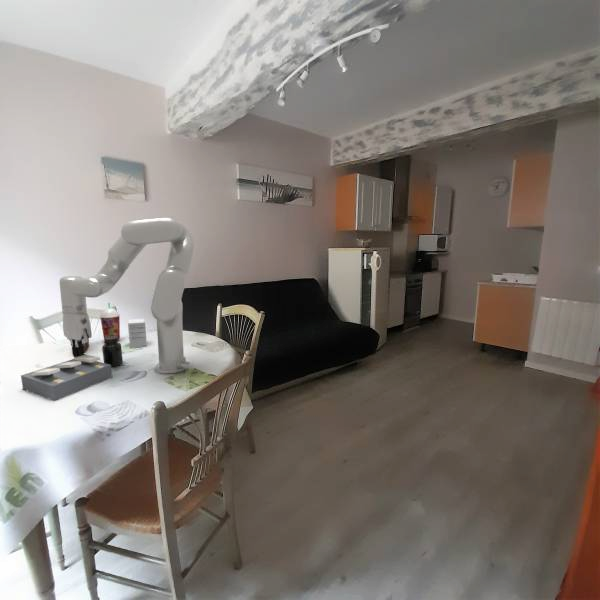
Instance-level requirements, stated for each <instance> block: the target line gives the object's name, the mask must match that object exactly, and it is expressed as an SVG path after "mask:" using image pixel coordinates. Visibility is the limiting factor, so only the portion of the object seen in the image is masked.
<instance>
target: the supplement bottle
mask: <svg viewBox="0 0 600 600" xmlns="http://www.w3.org/2000/svg"><path fill="white" fill-rule="evenodd" d="M103 342H104V344H103V345H102V347H101V352H102V359H103V363H106V364H109V365H111V369H114V368H115V369H116V368H120V367H121V366H122V365H123V363H124V361H123V360H124V359H123V350H122V344H121V343H120V342H119V341H118V337H116V336H110V337H106V338H104V337H103Z"/></svg>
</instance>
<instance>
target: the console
mask: <svg viewBox="0 0 600 600" xmlns="http://www.w3.org/2000/svg"><path fill="white" fill-rule="evenodd" d="M76 361H78V360H74V358H72V359H69V360H66V361H64V362H76ZM54 365H55V364H53V365H51V366H47V367H45V368H46V369H52V368H54ZM32 372H33V371H32ZM32 372H29V373H27V372H26V373H24V374H22V375H20V378H21V386H22V390H24V389H25V391H27V390H28V391H27V392H30V393H32V392H33V394H35V395H38V396H41V397H44V398H46V399H49V400H52V401H57V400H60V399H62V398H65V397H67V396H70V395H72V394H75V393H77V392H79V391H82V390H84V389H86V388H87V389H88V388H90V387H91V386H94V385H97V384H99V383H103V381H106V380H108V379H111V378H113V373H112V368H111V365H109V364H106V363H104V362H100V361H99V360H98V361H95V362H92V363H89V362H84V361H81V364H79V365H77V366H74V367H69V368H60V371H59V372H56V373H53V374H50V375H33V376H32V374H31V373H32Z"/></svg>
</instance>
